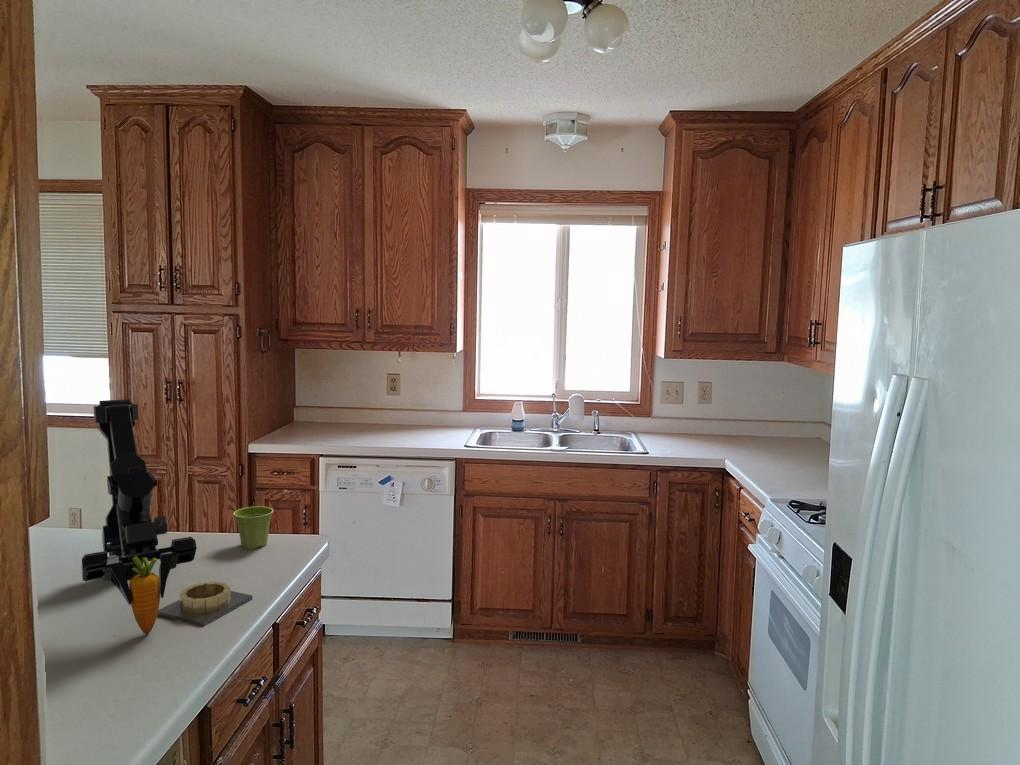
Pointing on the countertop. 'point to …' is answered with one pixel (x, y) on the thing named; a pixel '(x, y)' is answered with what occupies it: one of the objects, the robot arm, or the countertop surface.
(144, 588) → the carrot
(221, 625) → the countertop surface
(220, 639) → the countertop surface
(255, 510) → the plant pot
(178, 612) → the collar plate
